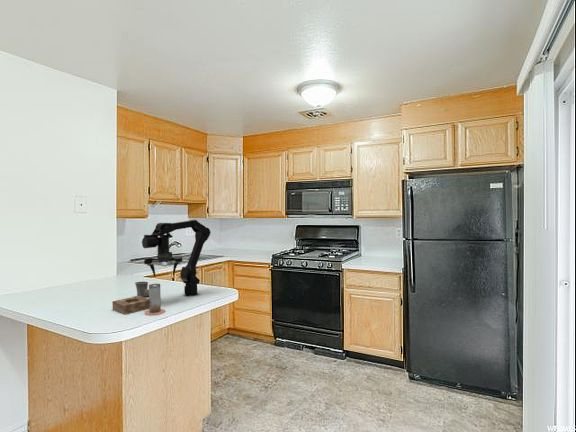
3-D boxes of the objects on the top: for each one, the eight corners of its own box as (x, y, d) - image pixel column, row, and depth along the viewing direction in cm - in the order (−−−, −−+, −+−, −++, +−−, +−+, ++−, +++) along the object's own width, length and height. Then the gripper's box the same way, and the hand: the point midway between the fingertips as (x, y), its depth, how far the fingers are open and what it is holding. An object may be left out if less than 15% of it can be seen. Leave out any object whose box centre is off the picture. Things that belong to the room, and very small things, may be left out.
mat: (152, 308, 166) (152, 308, 166) (169, 309, 164) (169, 309, 164) (140, 314, 157) (140, 313, 157) (157, 315, 155) (157, 314, 155)
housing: (138, 303, 176) (138, 295, 176) (151, 307, 168) (151, 299, 168) (112, 309, 166) (112, 301, 166) (125, 314, 158) (125, 305, 158)
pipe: (152, 298, 186) (152, 283, 186) (132, 297, 189) (131, 283, 189) (159, 295, 192) (159, 281, 192) (139, 294, 195) (139, 280, 195)
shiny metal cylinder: (158, 309, 164) (157, 283, 164) (162, 311, 160) (162, 284, 160) (147, 311, 160) (146, 284, 160) (152, 313, 157) (151, 286, 157)
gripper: (143, 249, 170) (144, 280, 170) (182, 247, 176) (183, 277, 176) (144, 246, 181) (145, 276, 181) (181, 245, 187) (182, 273, 187)
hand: (164, 276), depth 181 cm, fingers open, 9 cm apart
